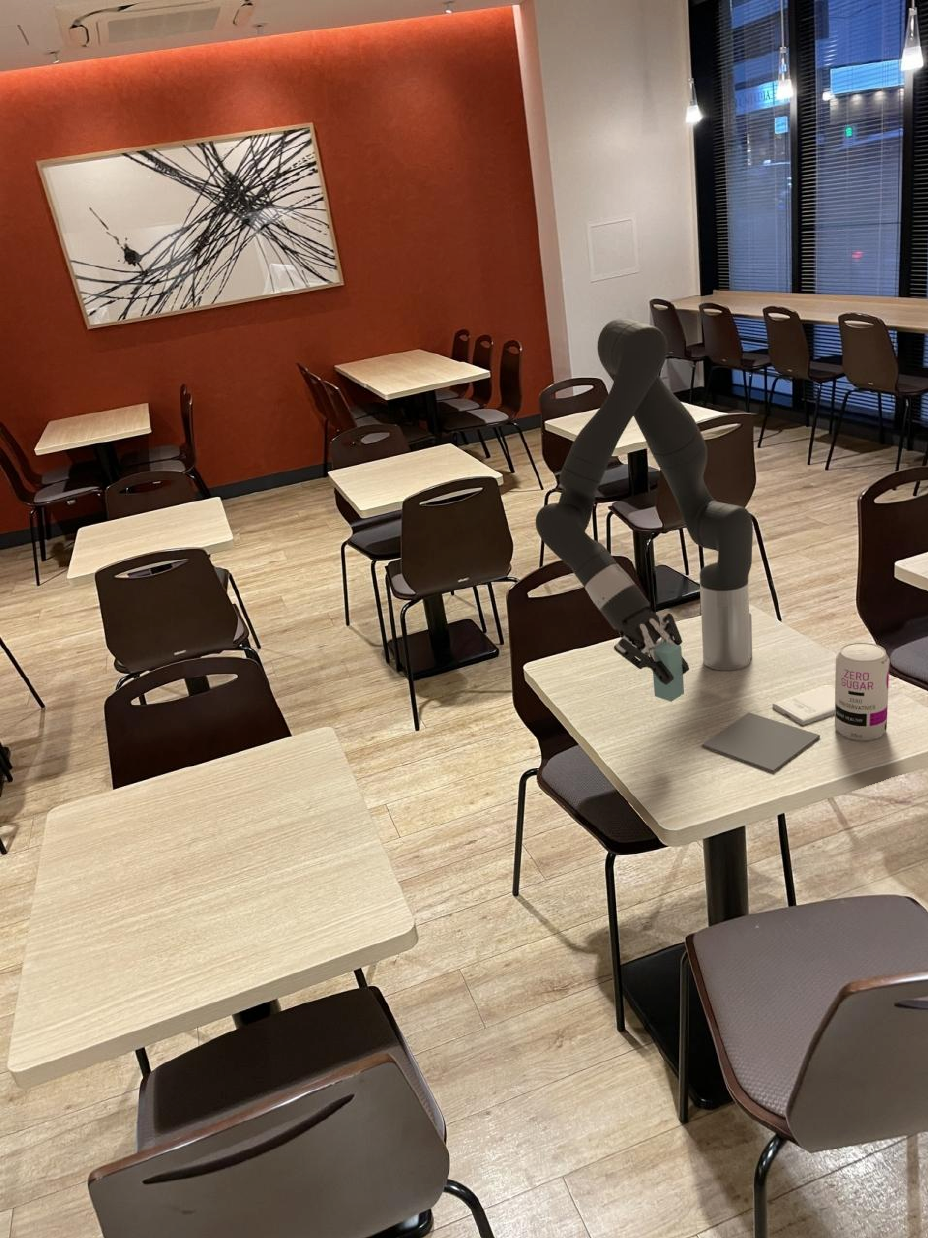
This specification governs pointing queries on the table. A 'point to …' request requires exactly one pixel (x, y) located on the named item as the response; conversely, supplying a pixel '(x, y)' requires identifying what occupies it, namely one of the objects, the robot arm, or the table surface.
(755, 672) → the table surface
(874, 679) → the supplement can
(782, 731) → the gray mat
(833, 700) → the external hard drive
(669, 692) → the teal block
